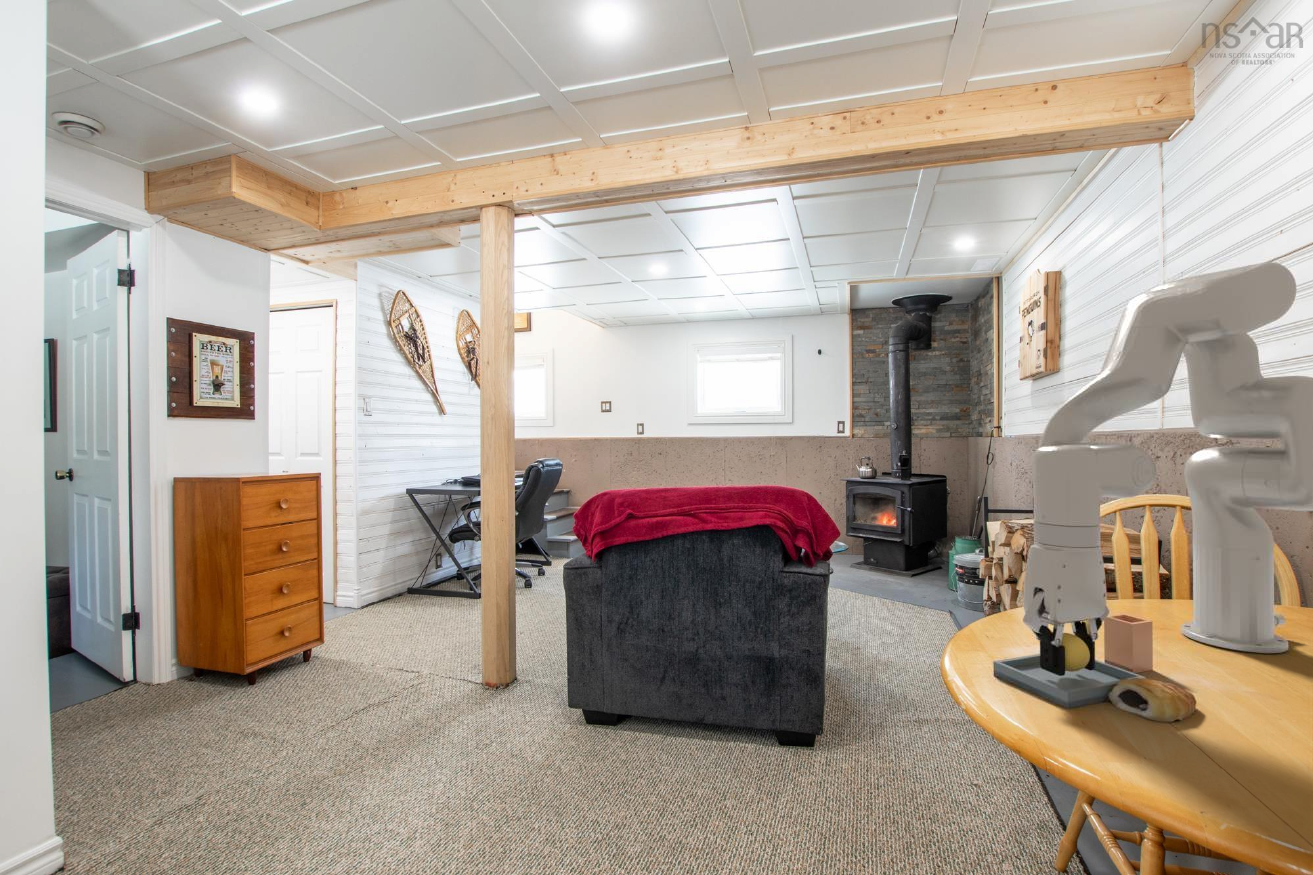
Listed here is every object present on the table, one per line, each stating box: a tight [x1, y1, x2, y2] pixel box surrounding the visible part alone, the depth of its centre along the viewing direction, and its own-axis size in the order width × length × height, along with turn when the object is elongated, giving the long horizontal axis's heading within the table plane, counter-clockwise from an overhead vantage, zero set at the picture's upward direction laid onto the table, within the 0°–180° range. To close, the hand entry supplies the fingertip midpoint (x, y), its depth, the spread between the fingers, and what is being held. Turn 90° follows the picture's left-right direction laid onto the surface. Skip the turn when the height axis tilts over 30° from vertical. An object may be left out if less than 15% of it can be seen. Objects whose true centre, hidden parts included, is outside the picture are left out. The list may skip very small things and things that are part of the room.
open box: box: [1103, 613, 1154, 674], centre depth 88 cm, size 4×4×7 cm
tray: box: [992, 653, 1148, 710], centre depth 82 cm, size 14×11×2 cm
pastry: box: [1108, 677, 1197, 723], centre depth 75 cm, size 9×7×4 cm
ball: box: [1061, 632, 1090, 672], centre depth 82 cm, size 5×5×5 cm
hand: (1067, 668), depth 82 cm, fingers closed on ball, 4 cm apart
